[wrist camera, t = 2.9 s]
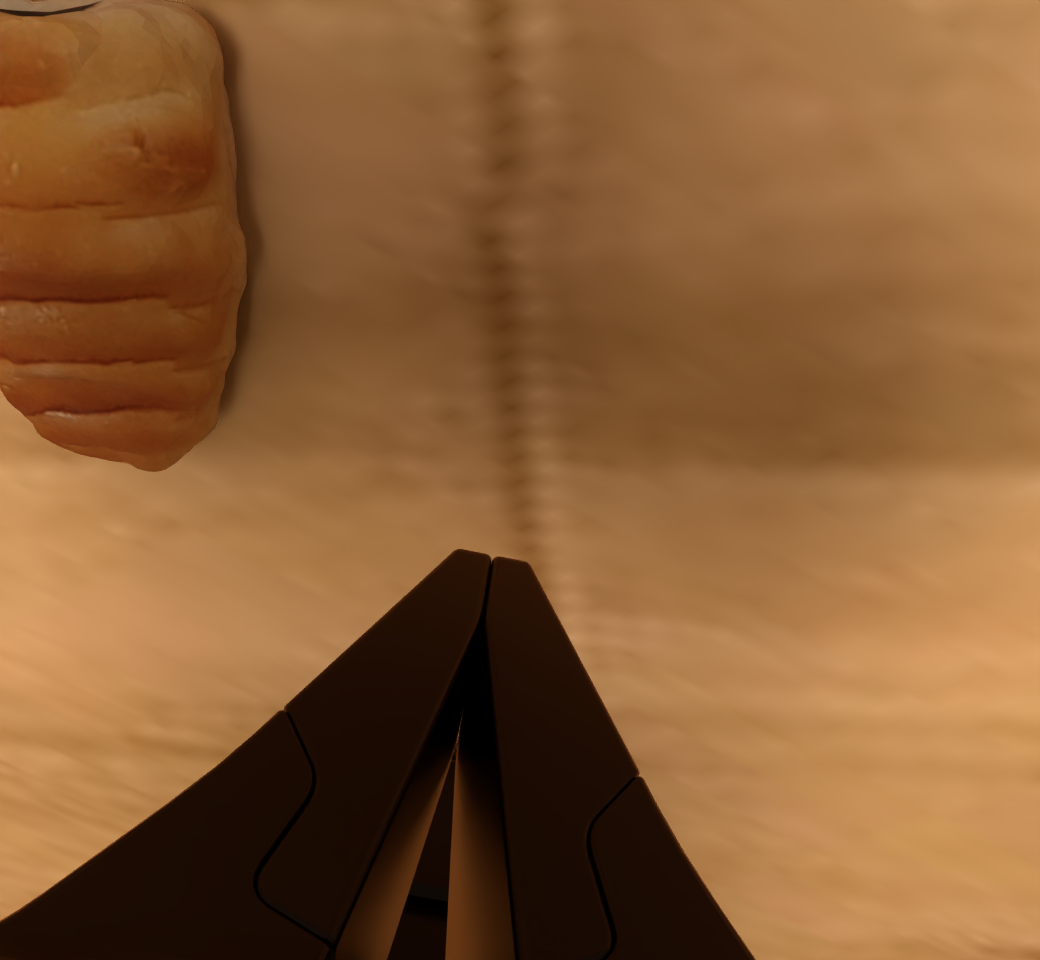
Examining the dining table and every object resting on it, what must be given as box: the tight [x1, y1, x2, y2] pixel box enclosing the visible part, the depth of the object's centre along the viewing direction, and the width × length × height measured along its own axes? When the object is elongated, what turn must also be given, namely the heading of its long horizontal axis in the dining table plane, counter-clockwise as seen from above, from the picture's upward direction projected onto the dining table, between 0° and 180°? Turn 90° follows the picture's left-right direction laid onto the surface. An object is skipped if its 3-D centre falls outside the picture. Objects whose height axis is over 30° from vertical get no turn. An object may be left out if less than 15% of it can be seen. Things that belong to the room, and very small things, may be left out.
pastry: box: [0, 0, 247, 472], centre depth 16 cm, size 9×7×4 cm
